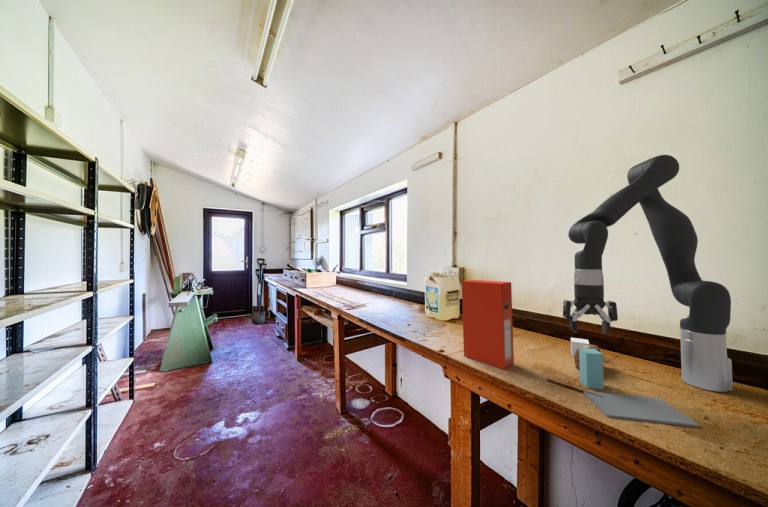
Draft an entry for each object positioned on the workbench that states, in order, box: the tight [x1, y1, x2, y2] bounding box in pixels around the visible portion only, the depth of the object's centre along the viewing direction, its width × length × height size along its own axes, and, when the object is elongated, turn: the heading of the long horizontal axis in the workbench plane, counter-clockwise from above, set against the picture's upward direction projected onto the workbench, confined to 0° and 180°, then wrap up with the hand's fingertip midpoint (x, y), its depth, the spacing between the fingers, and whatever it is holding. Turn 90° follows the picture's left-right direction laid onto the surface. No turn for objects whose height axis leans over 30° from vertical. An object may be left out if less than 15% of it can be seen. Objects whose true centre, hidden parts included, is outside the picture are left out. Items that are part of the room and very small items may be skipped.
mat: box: [582, 390, 701, 428], centre depth 70 cm, size 19×12×1 cm, turn 76°
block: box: [579, 348, 605, 390], centre depth 83 cm, size 4×4×11 cm
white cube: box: [570, 337, 590, 357], centre depth 108 cm, size 6×6×6 cm
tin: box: [573, 343, 602, 372], centre depth 94 cm, size 15×3×8 cm, turn 120°
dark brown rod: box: [546, 378, 604, 398], centre depth 80 cm, size 15×1×1 cm, turn 38°
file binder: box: [461, 279, 515, 370], centre depth 104 cm, size 8×17×32 cm, turn 38°
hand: (589, 332), depth 83 cm, fingers open, 8 cm apart
